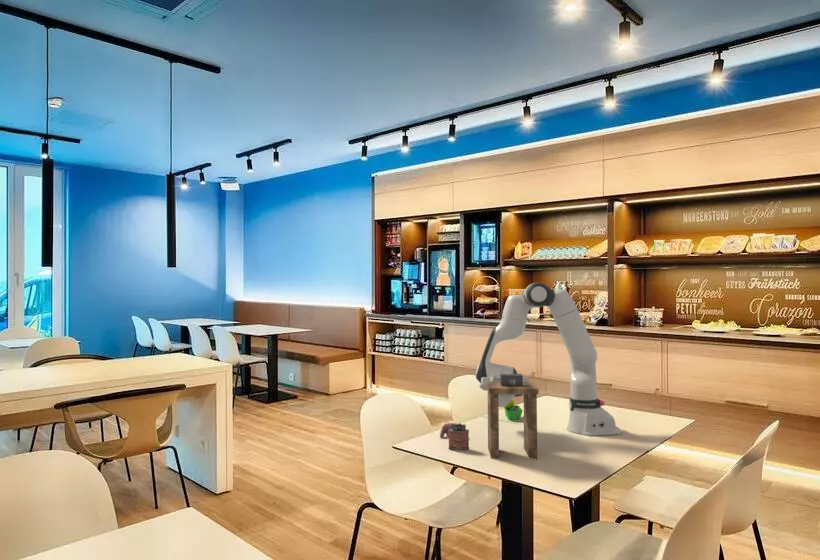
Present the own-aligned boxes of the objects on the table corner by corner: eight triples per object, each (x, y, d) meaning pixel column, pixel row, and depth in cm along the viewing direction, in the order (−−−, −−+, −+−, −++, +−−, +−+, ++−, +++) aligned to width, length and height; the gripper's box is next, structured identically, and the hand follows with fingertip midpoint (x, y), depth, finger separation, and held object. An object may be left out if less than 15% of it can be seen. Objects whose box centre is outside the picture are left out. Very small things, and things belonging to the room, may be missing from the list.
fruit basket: (523, 421, 256) (522, 397, 256) (504, 421, 256) (504, 397, 256) (518, 415, 267) (518, 392, 267) (500, 415, 267) (500, 392, 267)
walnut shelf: (532, 448, 213) (532, 382, 213) (539, 459, 199) (538, 388, 199) (486, 447, 214) (486, 381, 214) (489, 459, 200) (489, 388, 200)
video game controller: (464, 441, 228) (465, 424, 231) (461, 439, 224) (463, 422, 227) (441, 439, 231) (443, 423, 234) (438, 437, 227) (440, 420, 231)
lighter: (469, 448, 214) (468, 422, 214) (469, 450, 210) (468, 424, 210) (448, 447, 214) (448, 422, 215) (448, 450, 211) (448, 424, 211)
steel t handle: (516, 378, 222) (516, 368, 222) (522, 386, 204) (522, 375, 204) (496, 378, 223) (496, 368, 223) (501, 386, 205) (501, 375, 205)
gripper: (478, 381, 235) (480, 369, 223) (526, 381, 234) (530, 369, 222) (479, 395, 232) (481, 384, 220) (527, 395, 230) (532, 384, 219)
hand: (506, 376), depth 221 cm, fingers open, 8 cm apart
